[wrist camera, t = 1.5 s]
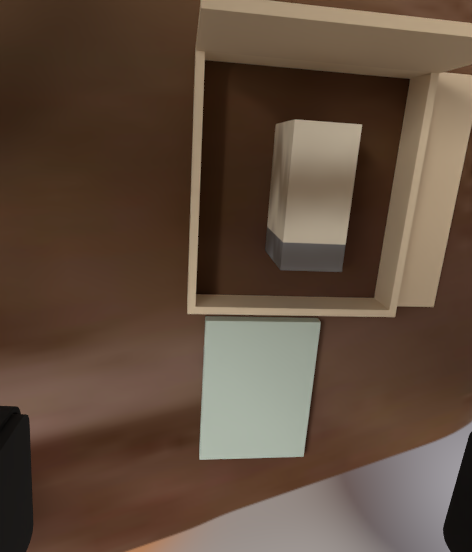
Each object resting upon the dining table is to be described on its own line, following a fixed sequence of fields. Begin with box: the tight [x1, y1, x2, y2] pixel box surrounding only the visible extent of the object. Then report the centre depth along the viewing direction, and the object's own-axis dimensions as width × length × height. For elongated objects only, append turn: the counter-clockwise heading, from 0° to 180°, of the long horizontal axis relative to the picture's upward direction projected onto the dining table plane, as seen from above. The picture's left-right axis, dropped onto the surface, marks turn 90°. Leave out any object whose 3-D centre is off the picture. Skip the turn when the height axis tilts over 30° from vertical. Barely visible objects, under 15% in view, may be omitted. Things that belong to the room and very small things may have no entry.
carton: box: [187, 0, 472, 317], centre depth 29 cm, size 19×22×12 cm
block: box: [265, 119, 362, 272], centre depth 32 cm, size 10×4×6 cm, turn 176°
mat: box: [199, 316, 321, 460], centre depth 39 cm, size 14×10×1 cm
